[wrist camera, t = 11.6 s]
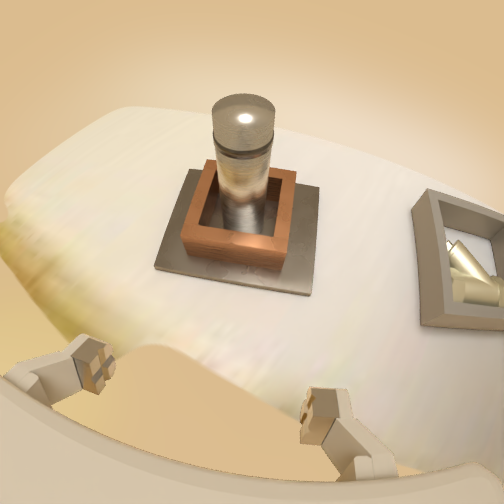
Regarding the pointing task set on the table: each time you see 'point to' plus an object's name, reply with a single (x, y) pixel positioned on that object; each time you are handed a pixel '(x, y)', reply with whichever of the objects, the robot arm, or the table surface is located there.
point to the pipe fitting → (472, 279)
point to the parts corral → (437, 260)
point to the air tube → (243, 158)
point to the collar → (243, 235)
